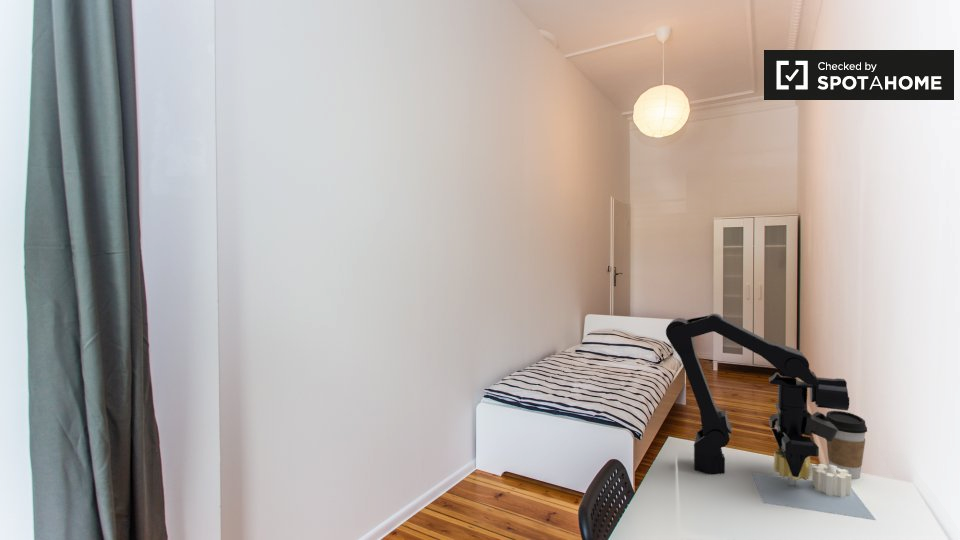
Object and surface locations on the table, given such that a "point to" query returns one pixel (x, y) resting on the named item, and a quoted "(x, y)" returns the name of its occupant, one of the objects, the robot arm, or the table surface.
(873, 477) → the table surface
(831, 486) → the cream gear
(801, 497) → the gear board
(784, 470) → the brass gear
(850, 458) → the coffee cup
